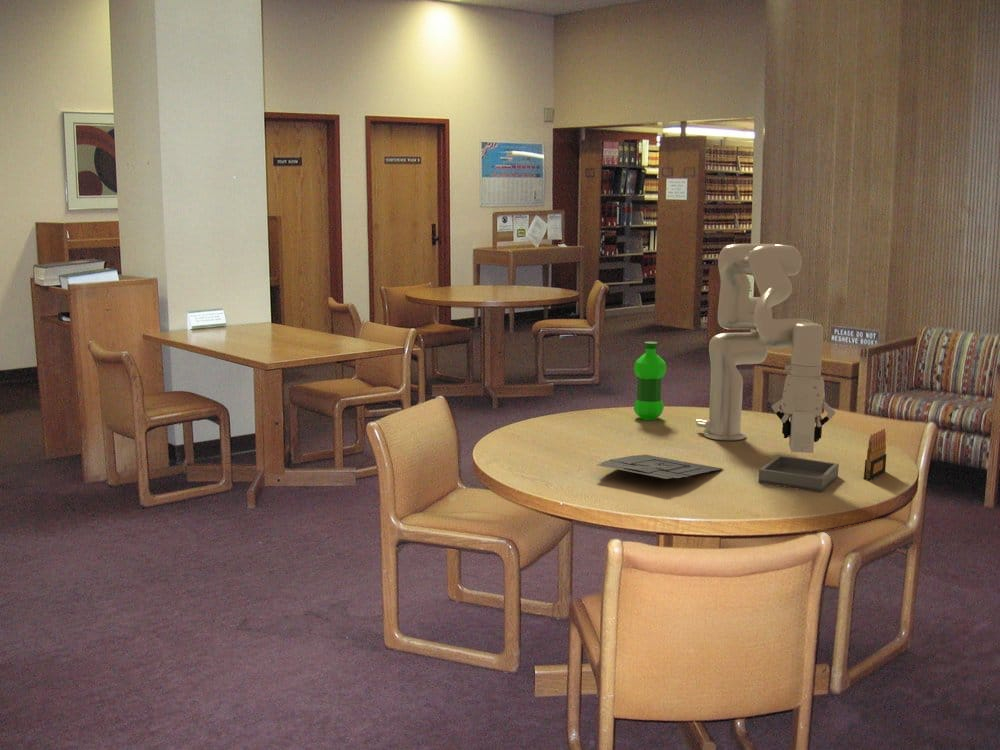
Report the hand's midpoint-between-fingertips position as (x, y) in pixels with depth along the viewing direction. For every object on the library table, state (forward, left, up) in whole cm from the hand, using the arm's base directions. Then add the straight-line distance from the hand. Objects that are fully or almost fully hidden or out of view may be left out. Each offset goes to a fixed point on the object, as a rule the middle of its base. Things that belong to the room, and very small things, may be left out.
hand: (801, 438), depth 268 cm
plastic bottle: (-61, +45, -11) cm, 77 cm away
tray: (0, 0, -11) cm, 11 cm away
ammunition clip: (+16, +15, -11) cm, 25 cm away
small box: (0, 0, -3) cm, 3 cm away
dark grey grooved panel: (-33, -15, -11) cm, 38 cm away
